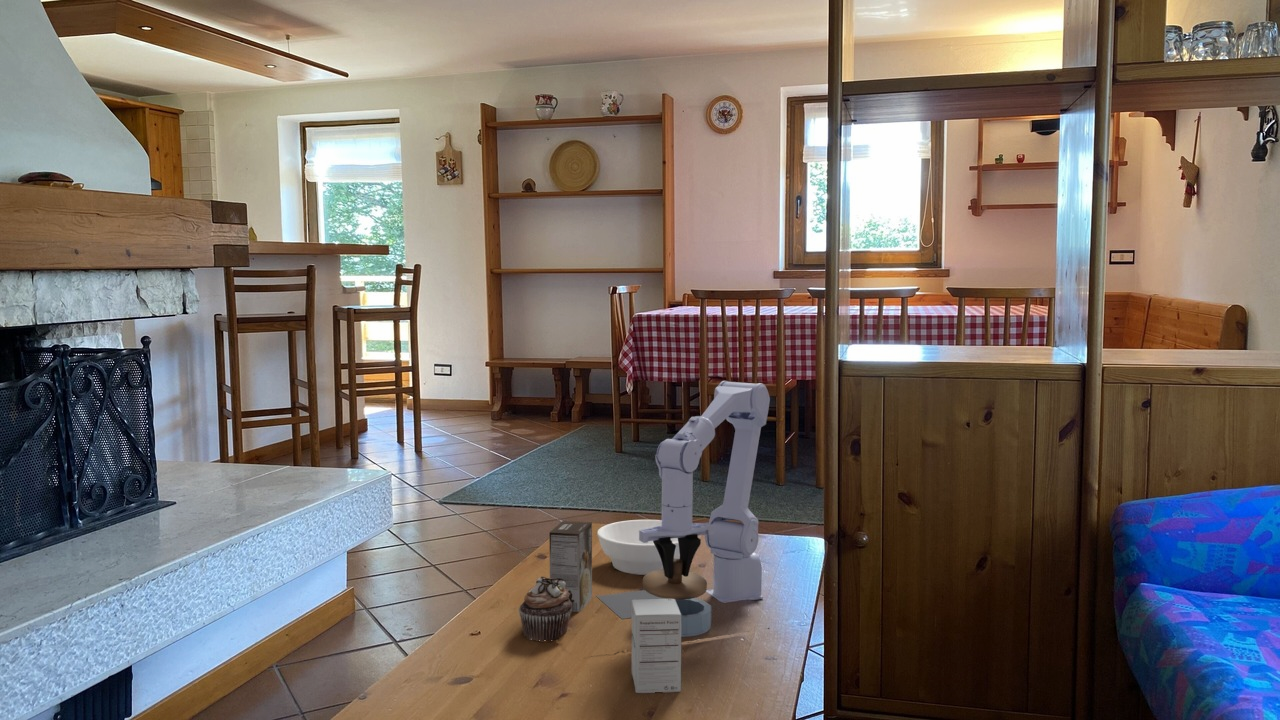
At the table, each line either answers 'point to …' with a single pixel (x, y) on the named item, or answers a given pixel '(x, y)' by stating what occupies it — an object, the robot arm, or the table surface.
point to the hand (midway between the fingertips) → (676, 576)
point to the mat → (625, 601)
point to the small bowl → (694, 616)
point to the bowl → (632, 546)
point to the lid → (675, 583)
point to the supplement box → (656, 645)
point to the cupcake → (546, 610)
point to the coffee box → (573, 560)
